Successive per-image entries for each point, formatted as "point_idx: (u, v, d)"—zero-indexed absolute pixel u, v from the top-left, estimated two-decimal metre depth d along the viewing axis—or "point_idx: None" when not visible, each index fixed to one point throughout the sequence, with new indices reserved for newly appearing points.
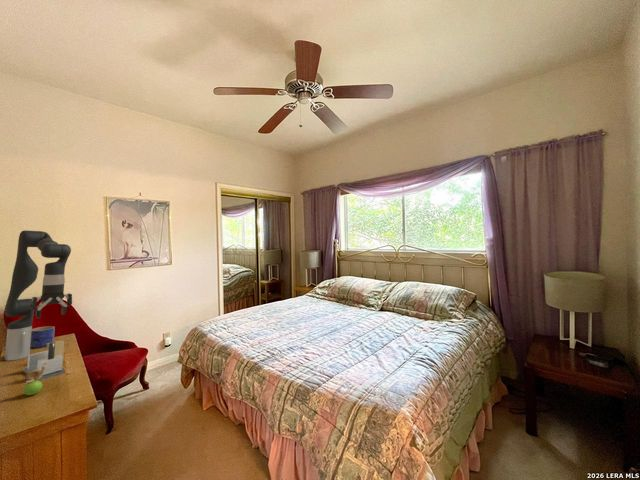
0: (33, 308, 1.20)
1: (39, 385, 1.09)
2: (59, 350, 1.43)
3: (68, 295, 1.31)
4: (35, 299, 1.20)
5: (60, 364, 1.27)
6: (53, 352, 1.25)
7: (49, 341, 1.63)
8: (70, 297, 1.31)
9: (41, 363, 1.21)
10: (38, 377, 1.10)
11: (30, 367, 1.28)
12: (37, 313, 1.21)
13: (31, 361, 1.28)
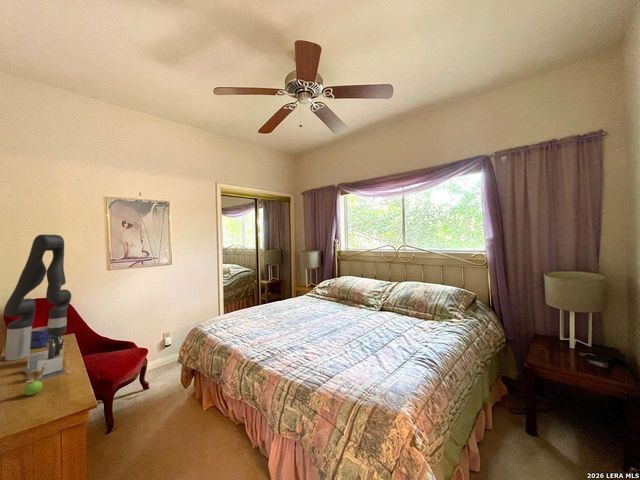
0: None
1: (39, 385, 1.09)
2: None
3: None
4: None
5: (60, 364, 1.27)
6: (53, 352, 1.25)
7: None
8: None
9: (41, 363, 1.21)
10: (38, 377, 1.10)
11: (30, 367, 1.28)
12: (58, 352, 1.41)
13: (31, 361, 1.28)
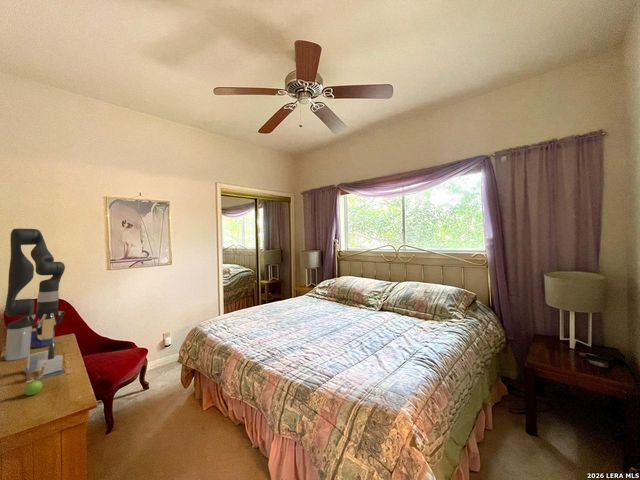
0: None
1: (39, 385, 1.09)
2: None
3: None
4: None
5: (60, 364, 1.27)
6: (53, 352, 1.25)
7: (49, 341, 1.63)
8: None
9: (41, 363, 1.21)
10: (38, 377, 1.10)
11: (30, 367, 1.28)
12: None
13: (31, 361, 1.28)
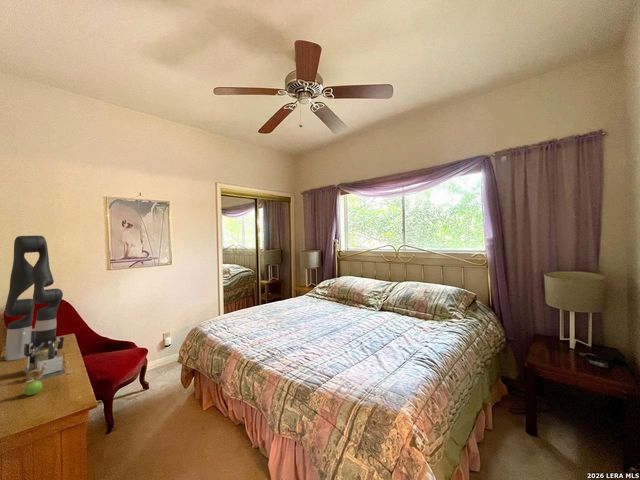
0: None
1: (39, 385, 1.09)
2: None
3: None
4: None
5: (60, 364, 1.27)
6: (53, 352, 1.25)
7: None
8: None
9: (41, 363, 1.21)
10: (38, 377, 1.10)
11: (30, 367, 1.28)
12: None
13: None
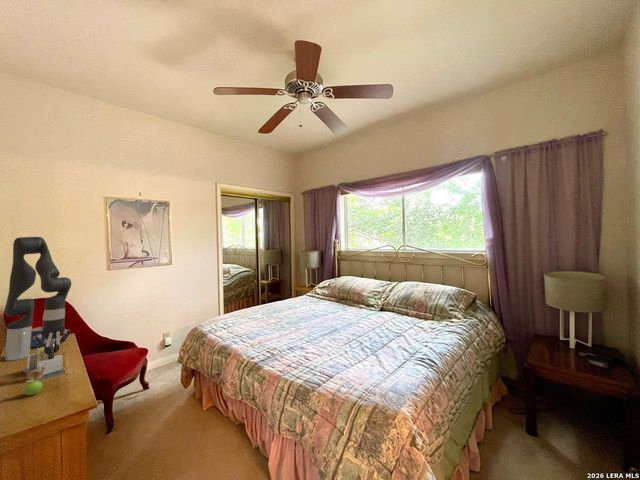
0: None
1: (39, 385, 1.09)
2: None
3: None
4: None
5: (60, 364, 1.27)
6: (53, 352, 1.25)
7: None
8: None
9: (41, 363, 1.21)
10: (38, 377, 1.10)
11: (30, 367, 1.28)
12: None
13: (31, 361, 1.28)
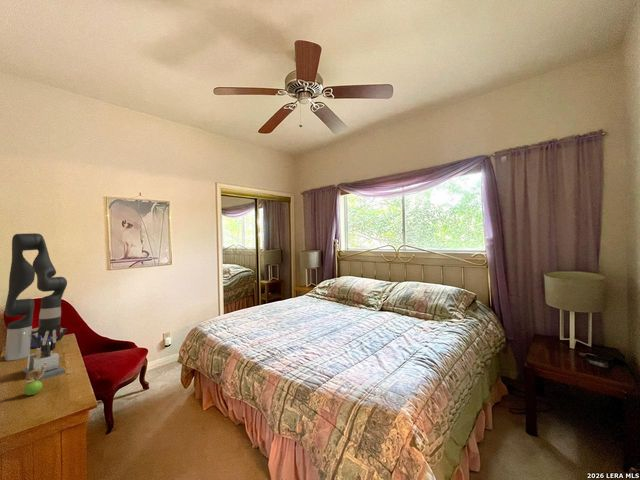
0: None
1: (39, 385, 1.09)
2: None
3: None
4: None
5: (56, 362, 1.29)
6: (49, 350, 1.27)
7: None
8: None
9: (37, 361, 1.23)
10: (38, 377, 1.10)
11: (30, 367, 1.28)
12: None
13: (31, 361, 1.28)
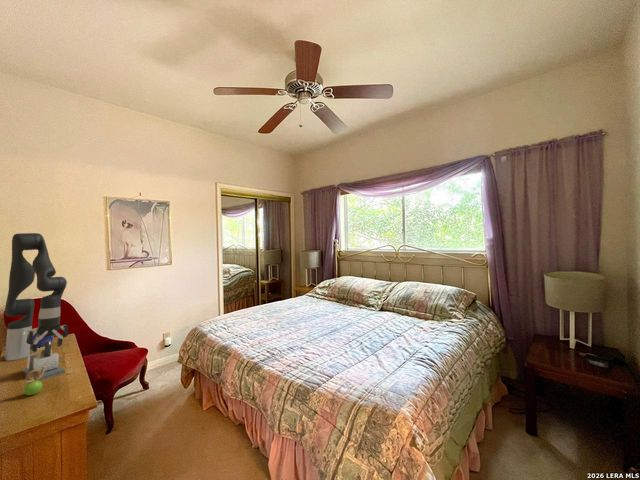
0: None
1: (39, 385, 1.09)
2: None
3: None
4: None
5: (56, 362, 1.29)
6: (49, 350, 1.27)
7: None
8: None
9: (37, 361, 1.23)
10: (38, 377, 1.10)
11: (30, 367, 1.28)
12: None
13: (31, 361, 1.28)
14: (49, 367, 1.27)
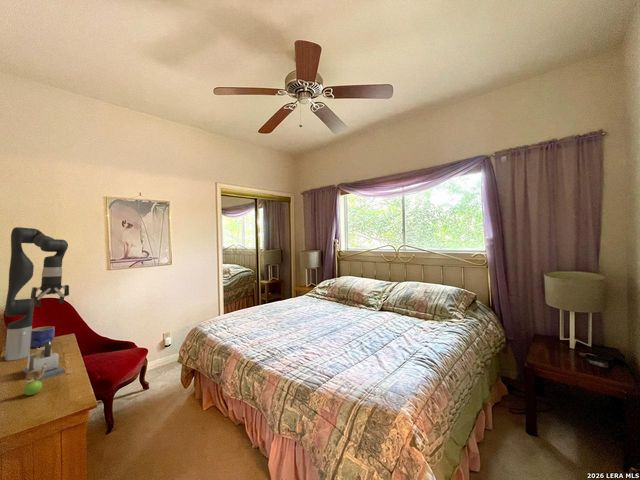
0: None
1: (39, 385, 1.09)
2: None
3: None
4: None
5: (56, 362, 1.29)
6: (49, 350, 1.27)
7: None
8: None
9: (37, 361, 1.23)
10: (38, 377, 1.10)
11: (30, 367, 1.28)
12: None
13: (31, 361, 1.28)
14: (49, 367, 1.27)
